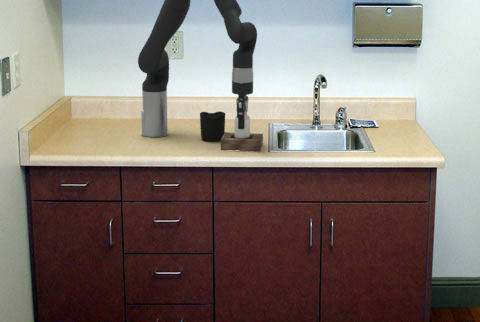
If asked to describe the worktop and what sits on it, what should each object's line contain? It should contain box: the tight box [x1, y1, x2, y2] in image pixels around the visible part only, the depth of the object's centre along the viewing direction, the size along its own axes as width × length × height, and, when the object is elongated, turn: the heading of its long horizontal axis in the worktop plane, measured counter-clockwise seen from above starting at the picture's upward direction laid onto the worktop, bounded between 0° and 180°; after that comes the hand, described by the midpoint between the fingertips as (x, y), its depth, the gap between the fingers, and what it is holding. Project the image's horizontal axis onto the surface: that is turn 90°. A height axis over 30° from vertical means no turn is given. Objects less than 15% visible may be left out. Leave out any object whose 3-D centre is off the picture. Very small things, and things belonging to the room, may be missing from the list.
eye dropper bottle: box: [234, 112, 251, 139], centre depth 277 cm, size 4×6×12 cm
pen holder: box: [199, 110, 226, 143], centre depth 289 cm, size 9×9×10 cm
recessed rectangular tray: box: [220, 131, 264, 152], centre depth 279 cm, size 14×11×4 cm
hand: (242, 127), depth 277 cm, fingers closed on eye dropper bottle, 4 cm apart
